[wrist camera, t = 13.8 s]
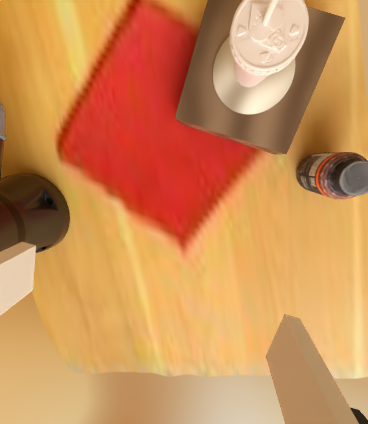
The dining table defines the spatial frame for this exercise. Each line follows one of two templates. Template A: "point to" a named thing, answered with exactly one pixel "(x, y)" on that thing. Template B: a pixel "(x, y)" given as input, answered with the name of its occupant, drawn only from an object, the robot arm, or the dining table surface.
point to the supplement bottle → (334, 174)
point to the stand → (257, 95)
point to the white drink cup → (266, 37)
